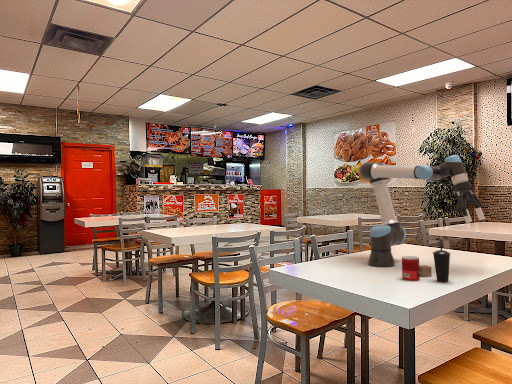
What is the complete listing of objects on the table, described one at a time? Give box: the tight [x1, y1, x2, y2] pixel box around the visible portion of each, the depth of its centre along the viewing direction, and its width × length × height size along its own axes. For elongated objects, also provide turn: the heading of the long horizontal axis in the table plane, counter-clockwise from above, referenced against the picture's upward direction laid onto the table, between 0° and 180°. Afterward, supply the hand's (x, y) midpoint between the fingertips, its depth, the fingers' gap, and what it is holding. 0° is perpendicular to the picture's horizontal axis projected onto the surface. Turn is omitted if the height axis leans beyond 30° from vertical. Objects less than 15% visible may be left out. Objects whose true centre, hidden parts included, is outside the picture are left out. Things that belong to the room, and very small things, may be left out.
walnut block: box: [419, 264, 433, 278], centre depth 183 cm, size 5×5×5 cm
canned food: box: [401, 255, 421, 282], centre depth 177 cm, size 8×8×11 cm
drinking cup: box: [432, 239, 451, 283], centre depth 171 cm, size 8×8×20 cm
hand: (475, 220), depth 186 cm, fingers open, 13 cm apart
